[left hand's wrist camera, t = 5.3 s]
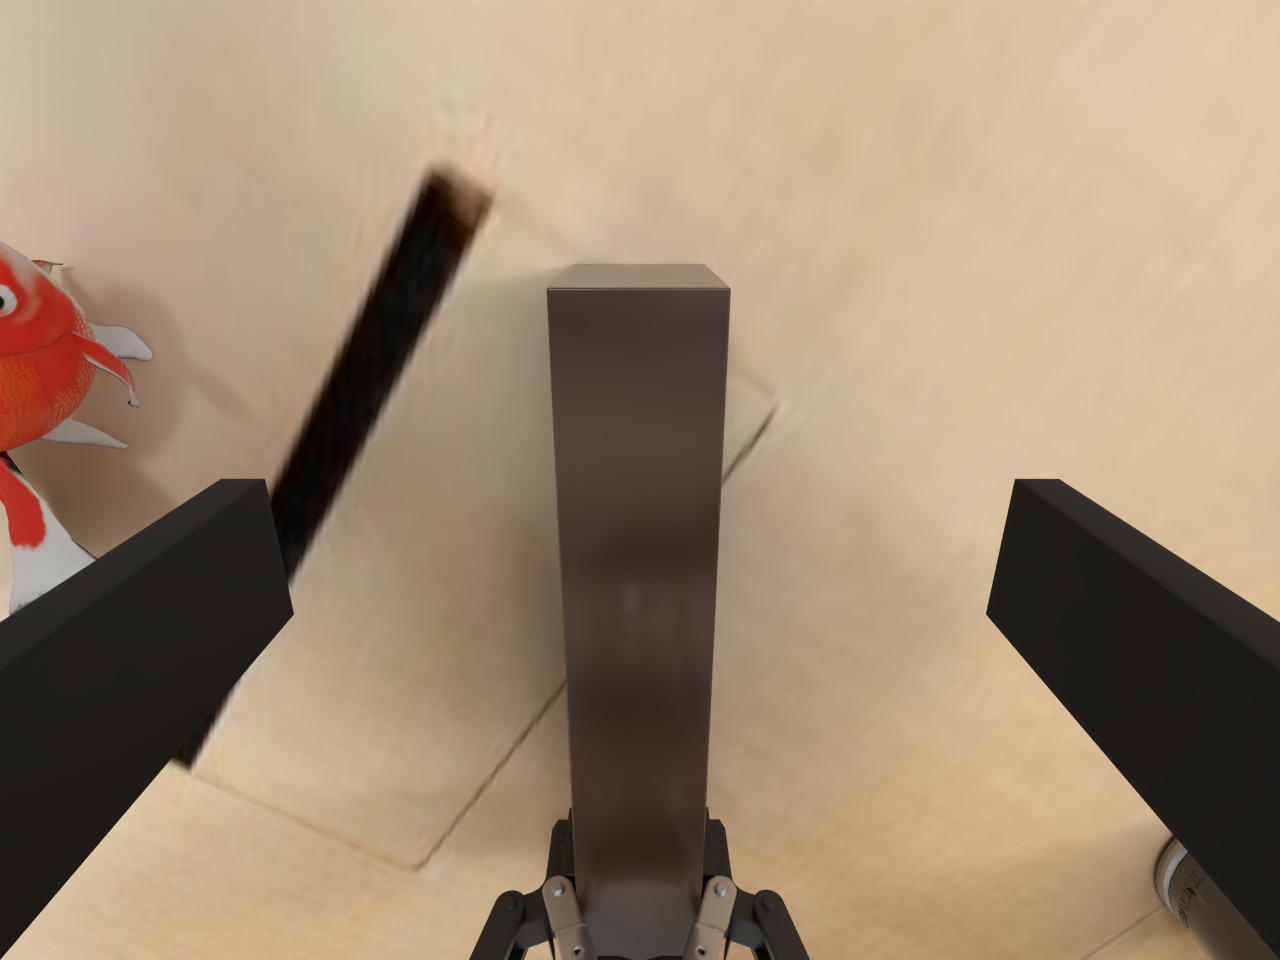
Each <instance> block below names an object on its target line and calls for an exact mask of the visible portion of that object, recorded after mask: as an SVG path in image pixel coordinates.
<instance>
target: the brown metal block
mask: <svg viewBox="0 0 1280 960" xmlns="http://www.w3.org/2000/svg"><path fill="white" fill-rule="evenodd" d="M730 295H731V289H730V288H729V287H728V286H727V285H726V284H725V283H724V282H723V281H722V280H721V279H720V278H719V277H718V276H717V275H715V274H714V273H713V272H712V271H711V270H710V269H709V268H708V267H707V266H706V265H705V264H573V265H572V266H571V267H570V268H569V269H567V270H566V271H565V272H564V273H563V274H562V275H561V276H560V277H559V278H558V279H557V280H556V281H555V282H553V283H552V284H551V285H550V286H549V287H548V288H547V306H548V327H549V348H550V368H551V389H552V409H553V430H554V451H555V471H556V492H557V512H558V533H559V554H560V574H561V595H562V616H563V636H564V657H565V677H566V698H567V719H568V739H569V760H570V780H571V801H572V822H573V842H574V863H575V883H576V899H577V902H578V905H579V908H580V912H581V915H582V918H583V920H584V921H586V923H587V926H588V929H589V932H590V935H591V939H592V942H593V945H594V948H595V951H596V955H597V956H621V957H625V958H628V959H632V960H647V959H651V958H654V957H658V956H682V955H683V952H684V949H685V946H686V943H687V939H688V936H689V933H690V930H691V927H692V924H693V921H694V920H695V921H696V918H697V915H698V912H699V909H700V906H701V899H702V879H703V858H704V837H705V816H706V795H707V774H708V754H709V733H710V712H711V691H712V670H713V650H714V629H715V608H716V587H717V566H718V545H719V525H720V504H721V483H722V462H723V441H724V420H725V400H726V379H727V358H728V337H729V316H730Z"/></svg>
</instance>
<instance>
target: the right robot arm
mask: <svg viewBox="0 0 1280 960" xmlns="http://www.w3.org/2000/svg"><path fill="white" fill-rule="evenodd" d="M1156 886H1157V890H1158V893H1159V895H1160V897H1161V899H1162V900H1163V902H1164V903H1165V904H1166V906H1167V907H1168V908H1169V910H1170V911H1171V912H1172V914H1173V915H1174V916H1175V917H1176V918H1177V919H1178V920H1179V921H1180V922H1181V923H1182V924H1183V925H1184V927H1185V928H1186V929H1187V931H1188V932H1189V933H1190V934H1191V936H1192V937H1193V938H1194V940H1195V941H1196V942H1197V944H1198V945H1199V946H1200V948H1201V949H1202V950H1203V952H1204V953H1205V954H1206V956H1207V957H1208V958H1209V960H1280V959H1279V958H1278V957H1277V956H1276V955H1275V954H1274V952H1273V951H1272V950H1271V949H1270V948H1269V947H1268V945H1267V944H1266V943H1265V942H1264V941H1263V939H1262V938H1261V937H1260V936H1259V935H1258V934H1257V932H1256V931H1255V930H1254V929H1253V928H1252V927H1251V925H1250V924H1249V923H1248V922H1247V921H1246V919H1245V918H1244V917H1243V916H1242V915H1241V914H1240V912H1239V911H1238V910H1237V909H1236V908H1235V907H1234V905H1233V904H1232V903H1231V902H1230V901H1229V899H1228V898H1227V897H1226V896H1225V895H1224V894H1223V892H1222V891H1221V890H1220V889H1219V888H1218V887H1217V885H1216V884H1215V883H1214V882H1213V881H1212V879H1211V878H1210V877H1209V876H1208V875H1207V874H1206V872H1205V871H1204V870H1203V869H1202V868H1201V867H1200V865H1199V864H1198V863H1197V862H1196V861H1195V859H1194V858H1193V857H1192V856H1191V855H1190V854H1189V852H1188V851H1187V850H1186V849H1185V848H1184V847H1183V845H1182V844H1181V843H1180V842H1179V841H1178V839H1177V838H1175V839H1174V841H1173V842H1172V843H1171V844H1170V845H1169V847H1168V848H1167V849H1166V851H1165V852H1164V854H1163V856H1162V858H1161V860H1160V862H1159V865H1158V868H1157V873H1156ZM546 941H547V942H548V946H549V950H550V954H551V958H552V960H632V959H628V958H625V957H621V956H597V955H596V951H595V948H594V945H593V942H592V939H591V935H590V932H589V929H588V926H587V923H586V921H584V920H583V918H582V915H581V912H580V908H579V905H578V902H577V899H576V883H575V863H574V842H573V822H572V807H570V809H569V817H568V820H558V821H557V823H556V824H555V826H554V828H553V830H552V837H551V844H550V852H549V859H548V866H547V874H546V879H545V881H544V883H543V885H542V886H541V887H540V888H539V889H537V890H536V891H534V892H532V893H529V894H526V895H523V894H521V893H520V892H518V891H514V890H511V891H507V892H504V893H503V894H501V895H500V896H499V897H498V898H497V900H496V902H495V904H494V906H493V908H492V911H491V913H490V915H489V917H488V919H487V922H486V924H485V926H484V928H483V930H482V933H481V935H480V937H479V939H478V941H477V944H476V946H475V948H474V950H473V952H472V955H471V957H470V959H469V960H524V959H525V956H526V954H527V951H528V948H529V947H532V946H534V945H537V944H540V943H543V942H546ZM732 941H733V942H736V943H739V944H742V945H745V946H747V947H750V948H751V951H752V954H753V956H754V959H755V960H810V959H809V957H808V954H807V952H806V950H805V948H804V946H803V944H802V941H801V939H800V937H799V935H798V933H797V930H796V928H795V926H794V924H793V922H792V919H791V917H790V915H789V913H788V911H787V908H786V906H785V904H784V902H783V900H782V898H781V897H780V896H779V895H778V894H777V893H776V892H774V891H771V890H761V891H759V892H758V893H756V895H753V894H750V893H747V892H745V891H743V890H741V889H739V888H738V887H737V886H736V885H735V883H734V882H733V879H732V876H731V869H730V861H729V854H728V847H727V840H726V832H725V828H724V826H723V825H722V823H721V821H720V820H719V819H709V811H708V807H706V816H705V837H704V858H703V879H702V899H701V906H700V909H699V912H698V915H697V918H696V921H695V920H694V921H693V924H692V927H691V930H690V933H689V936H688V939H687V943H686V946H685V949H684V952H683V955H682V956H658V957H654V958H651V959H647V960H727V958H728V954H729V950H730V946H731V942H732Z"/></svg>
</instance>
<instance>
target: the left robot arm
mask: <svg viewBox="0 0 1280 960" xmlns="http://www.w3.org/2000/svg"><path fill="white" fill-rule="evenodd" d="M293 615H294V612H293V607H292V603H291V598H290V593H289V589H288V584H287V579H286V575H285V570H284V565H283V561H282V556H281V551H280V547H279V542H278V537H277V533H276V528H275V523H274V519H273V514H272V509H271V505H270V500H269V496H268V491H267V486H266V482H265V479H220V480H219V481H217V482H216V483H214V484H213V485H211V486H210V487H208V488H206V489H205V490H203V491H202V492H200V493H199V494H197V495H196V496H194V497H193V498H191V499H189V500H188V501H186V502H185V503H183V504H182V505H180V506H179V507H177V508H176V509H174V510H173V511H171V512H169V513H168V514H166V515H165V516H163V517H162V518H160V519H159V520H157V521H156V522H154V523H152V524H151V525H149V526H148V527H146V528H145V529H143V530H142V531H140V532H139V533H137V534H136V535H134V536H132V537H131V538H129V539H128V540H126V541H125V542H123V543H122V544H120V545H119V546H117V547H116V548H114V549H112V550H111V551H109V552H108V553H106V554H105V555H103V556H102V557H100V558H99V559H97V560H95V561H94V562H92V563H91V564H89V565H88V566H86V567H85V568H83V569H82V570H80V571H79V572H77V573H75V574H74V575H72V576H71V577H69V578H68V579H66V580H65V581H63V582H62V583H60V584H58V585H57V586H55V587H54V588H52V589H51V590H49V591H48V592H46V593H45V594H43V595H42V596H40V597H38V598H37V599H35V600H34V601H32V602H31V603H29V604H28V605H26V606H25V607H23V608H21V609H20V610H18V611H17V612H15V613H14V614H12V615H11V616H9V617H8V618H6V619H5V620H3V621H1V622H0V959H1V958H2V957H3V956H4V955H5V954H6V952H7V951H8V950H9V949H10V948H11V947H12V945H13V944H14V943H15V942H16V941H17V939H18V938H19V937H20V936H21V935H22V934H23V932H24V931H25V930H26V929H27V928H28V927H29V925H30V924H31V923H32V922H33V921H34V919H35V918H36V917H37V916H38V915H39V914H40V912H41V911H42V910H43V909H44V908H45V907H46V905H47V904H48V903H49V902H50V901H51V899H52V898H53V897H54V896H55V895H56V894H57V892H58V891H59V890H60V889H61V888H62V887H63V885H64V884H65V883H66V882H67V881H68V879H69V878H70V877H71V876H72V875H73V874H74V872H75V871H76V870H77V869H78V868H79V867H80V865H81V864H82V863H83V862H84V861H85V859H86V858H87V857H88V856H89V855H90V854H91V852H92V851H93V850H94V849H95V848H96V847H97V845H98V844H99V843H100V842H101V841H102V839H103V838H104V837H105V836H106V835H107V834H108V832H109V831H110V830H111V829H112V828H113V827H114V825H115V824H116V823H117V822H118V821H119V819H120V818H121V817H122V816H123V815H124V814H125V812H126V811H127V810H128V809H129V808H130V807H131V805H132V804H133V803H134V802H135V801H136V799H137V798H138V797H139V796H140V795H141V794H142V792H143V791H144V790H145V789H146V788H147V787H148V785H149V784H150V783H151V782H152V781H153V779H154V778H155V777H156V776H157V775H158V774H159V772H160V771H161V770H162V769H163V768H164V767H165V765H166V764H167V763H168V762H169V761H170V759H171V758H172V757H173V756H174V755H175V754H176V752H177V751H178V750H179V749H180V748H181V747H182V745H183V744H184V743H185V742H186V741H187V739H188V738H189V737H190V736H191V735H192V734H193V732H194V731H195V730H196V729H197V728H198V727H199V725H200V724H201V723H202V722H203V721H204V719H205V718H206V717H207V716H208V715H209V714H210V712H211V711H212V710H213V709H214V708H215V707H216V705H217V704H218V703H219V702H220V701H221V699H222V698H223V697H224V696H225V695H226V694H227V692H228V691H229V690H230V689H231V688H232V687H233V685H234V684H235V683H236V682H237V681H238V679H239V678H240V677H241V676H242V675H243V674H244V672H245V671H246V670H247V669H248V668H249V667H250V665H251V664H252V663H253V662H254V661H255V659H256V658H257V657H258V656H259V655H260V654H261V652H262V651H263V650H264V649H265V648H266V647H267V645H268V644H269V643H270V642H271V641H272V639H273V638H274V637H275V636H276V635H277V634H278V632H279V631H280V630H281V629H282V628H283V627H284V625H285V624H286V623H287V622H288V621H289V619H290V618H291V617H292V616H293ZM986 615H987V616H988V617H989V618H990V619H991V621H992V622H993V623H994V624H995V625H996V627H997V628H998V629H999V630H1000V631H1001V632H1002V634H1003V635H1004V636H1005V637H1006V638H1007V639H1008V641H1009V642H1010V643H1011V644H1012V645H1013V647H1014V648H1015V649H1016V650H1017V651H1018V652H1019V654H1020V655H1021V656H1022V657H1023V658H1024V659H1025V661H1026V662H1027V663H1028V664H1029V665H1030V667H1031V668H1032V669H1033V670H1034V671H1035V672H1036V674H1037V675H1038V676H1039V677H1040V678H1041V679H1042V681H1043V682H1044V683H1045V684H1046V685H1047V687H1048V688H1049V689H1050V690H1051V691H1052V692H1053V694H1054V695H1055V696H1056V697H1057V698H1058V699H1059V701H1060V702H1061V703H1062V704H1063V705H1064V707H1065V708H1066V709H1067V710H1068V711H1069V712H1070V714H1071V715H1072V716H1073V717H1074V718H1075V719H1076V721H1077V722H1078V723H1079V724H1080V725H1081V727H1082V728H1083V729H1084V730H1085V731H1086V732H1087V734H1088V735H1089V736H1090V737H1091V738H1092V739H1093V741H1094V742H1095V743H1096V744H1097V745H1098V747H1099V748H1100V749H1101V750H1102V751H1103V752H1104V754H1105V755H1106V756H1107V757H1108V758H1109V759H1110V761H1111V762H1112V763H1113V764H1114V765H1115V767H1116V768H1117V769H1118V770H1119V771H1120V772H1121V774H1122V775H1123V776H1124V777H1125V778H1126V779H1127V781H1128V782H1129V783H1130V784H1131V785H1132V787H1133V788H1134V789H1135V790H1136V791H1137V792H1138V794H1139V795H1140V796H1141V797H1142V798H1143V799H1144V801H1145V802H1146V803H1147V804H1148V805H1149V807H1150V808H1151V809H1152V810H1153V811H1154V812H1155V814H1156V815H1157V816H1158V817H1159V818H1160V819H1161V821H1162V822H1163V823H1164V824H1165V825H1166V827H1167V828H1168V829H1169V830H1170V831H1171V832H1172V834H1173V835H1174V836H1175V837H1176V838H1177V839H1178V841H1179V842H1180V843H1181V844H1182V845H1183V847H1184V848H1185V849H1186V850H1187V851H1188V852H1189V854H1190V855H1191V856H1192V857H1193V858H1194V859H1195V861H1196V862H1197V863H1198V864H1199V865H1200V867H1201V868H1202V869H1203V870H1204V871H1205V872H1206V874H1207V875H1208V876H1209V877H1210V878H1211V879H1212V881H1213V882H1214V883H1215V884H1216V885H1217V887H1218V888H1219V889H1220V890H1221V891H1222V892H1223V894H1224V895H1225V896H1226V897H1227V898H1228V899H1229V901H1230V902H1231V903H1232V904H1233V905H1234V907H1235V908H1236V909H1237V910H1238V911H1239V912H1240V914H1241V915H1242V916H1243V917H1244V918H1245V919H1246V921H1247V922H1248V923H1249V924H1250V925H1251V927H1252V928H1253V929H1254V930H1255V931H1256V932H1257V934H1258V935H1259V936H1260V937H1261V938H1262V939H1263V941H1264V942H1265V943H1266V944H1267V945H1268V947H1269V948H1270V949H1271V950H1272V951H1273V952H1274V954H1275V955H1276V956H1277V957H1278V958H1279V959H1280V622H1279V621H1277V620H1275V619H1274V618H1272V617H1271V616H1269V615H1268V614H1266V613H1265V612H1263V611H1262V610H1260V609H1259V608H1257V607H1255V606H1254V605H1252V604H1251V603H1249V602H1248V601H1246V600H1245V599H1243V598H1242V597H1240V596H1238V595H1237V594H1235V593H1234V592H1232V591H1231V590H1229V589H1228V588H1226V587H1225V586H1223V585H1222V584H1220V583H1218V582H1217V581H1215V580H1214V579H1212V578H1211V577H1209V576H1208V575H1206V574H1205V573H1203V572H1201V571H1200V570H1198V569H1197V568H1195V567H1194V566H1192V565H1191V564H1189V563H1188V562H1186V561H1185V560H1183V559H1181V558H1180V557H1178V556H1177V555H1175V554H1174V553H1172V552H1171V551H1169V550H1168V549H1166V548H1164V547H1163V546H1161V545H1160V544H1158V543H1157V542H1155V541H1154V540H1152V539H1151V538H1149V537H1148V536H1146V535H1144V534H1143V533H1141V532H1140V531H1138V530H1137V529H1135V528H1134V527H1132V526H1131V525H1129V524H1128V523H1126V522H1124V521H1123V520H1121V519H1120V518H1118V517H1117V516H1115V515H1114V514H1112V513H1111V512H1109V511H1107V510H1106V509H1104V508H1103V507H1101V506H1100V505H1098V504H1097V503H1095V502H1094V501H1092V500H1091V499H1089V498H1087V497H1086V496H1084V495H1083V494H1081V493H1080V492H1078V491H1077V490H1075V489H1074V488H1072V487H1070V486H1069V485H1067V484H1066V483H1064V482H1063V481H1061V480H1060V479H1015V482H1014V486H1013V491H1012V496H1011V500H1010V505H1009V509H1008V514H1007V519H1006V523H1005V528H1004V533H1003V537H1002V542H1001V547H1000V551H999V556H998V561H997V565H996V570H995V575H994V579H993V584H992V589H991V593H990V598H989V603H988V607H987V612H986Z"/></svg>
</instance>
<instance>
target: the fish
mask: <svg viewBox="0 0 1280 960" xmlns="http://www.w3.org/2000/svg"><path fill="white" fill-rule="evenodd" d="M53 265H63V264H55V263H51V262H46V261H41V260H29V259H28V258H27V257H25V256H24V255H22V254H21V253H19V252H18V251H16V250H14V249H13V248H11V247H10V246H8V245H6V244H4V243H3V242H1V241H0V500H1V502H2V503H3V504H4V506H5V509H6V513H7V517H8V521H9V534H10V540H11V547H12V555H13V587H12V592H11V598H10V609H9V613H10V616H11V615H12V614H14V613H15V612H17V611H18V610H20V609H21V608H23V607H25V606H26V605H28V604H29V603H31V602H32V601H34V600H35V599H37V598H38V597H40V596H42V595H43V594H45V593H46V592H48V591H49V590H51V589H52V588H54V587H55V586H57V585H58V584H60V583H62V582H63V581H65V580H66V579H68V578H69V577H71V576H72V575H74V574H75V573H77V572H79V571H80V570H82V569H83V568H85V567H86V566H88V565H89V564H91V563H92V562H94V561H95V560H97V558H96V557H94V556H93V555H92V554H90V553H89V552H88V551H86V550H85V549H84V548H83V547H81V546H80V545H79V544H77V543H76V542H75V541H74V540H73V539H72V538H71V536H70V535H69V534H68V533H67V531H66V530H65V529H64V528H63V526H62V525H61V524H60V523H59V522H58V520H57V519H56V518H55V516H54V515H53V514H52V513H51V511H50V510H49V509H48V507H47V506H46V505H45V503H44V502H43V501H42V500H41V498H40V497H39V496H38V494H37V493H36V492H35V490H34V489H33V488H32V486H31V485H30V484H29V482H28V481H27V480H26V478H25V477H24V476H23V474H22V473H21V472H20V470H19V469H18V468H17V466H16V465H15V464H14V462H13V461H12V460H11V458H10V457H9V455H8V454H7V450H10V449H13V448H15V447H18V446H21V445H23V444H26V443H28V442H31V441H33V440H36V439H38V438H39V439H41V440H46V441H52V442H62V443H75V444H87V445H96V446H104V447H111V448H119V449H125V448H127V447H128V445H126V444H124V443H122V442H120V441H118V440H116V439H115V438H113V437H111V436H109V435H107V434H106V433H104V432H102V431H100V430H98V429H96V428H94V427H91V426H88V425H86V424H83V423H80V422H78V421H75V420H72V419H70V418H68V417H69V416H70V415H71V414H72V413H73V412H74V411H75V410H76V408H77V407H78V406H79V405H80V403H81V401H82V400H83V398H84V396H85V395H86V393H87V391H88V389H89V388H90V386H91V384H92V381H93V379H94V375H95V369H96V366H97V367H98V368H100V369H102V370H104V371H106V372H108V373H110V374H112V375H114V376H116V377H118V378H119V379H120V380H121V381H122V382H123V383H124V384H125V385H126V386H127V387H128V389H129V393H130V401H129V402H128V404H129V405H130V406H133V407H139V400H138V397H137V393H136V388H135V383H134V381H133V379H132V376H131V374H130V371H129V370H128V368H127V367H126V365H125V364H124V362H122V361H121V360H120V359H119V358H128V359H138V360H145V361H147V360H150V359H151V358H152V356H153V354H152V351H151V350H150V349H149V347H148V346H147V345H146V344H145V343H144V342H143V341H142V340H141V339H140V338H139V337H138V336H137V335H136V334H135V333H134V332H133V331H131V330H129V329H128V328H125V327H120V326H110V327H104V326H98V325H95V324H92V323H89V321H88V319H87V317H86V315H85V313H84V311H83V309H82V307H81V306H80V305H79V303H78V302H77V301H76V299H75V298H74V297H73V296H72V295H71V294H70V293H69V292H68V291H67V290H66V289H65V288H64V287H63V286H62V285H60V284H59V283H58V282H57V281H56V280H54V279H53V278H52V277H51V276H50V272H51V269H52V266H53Z"/></svg>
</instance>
